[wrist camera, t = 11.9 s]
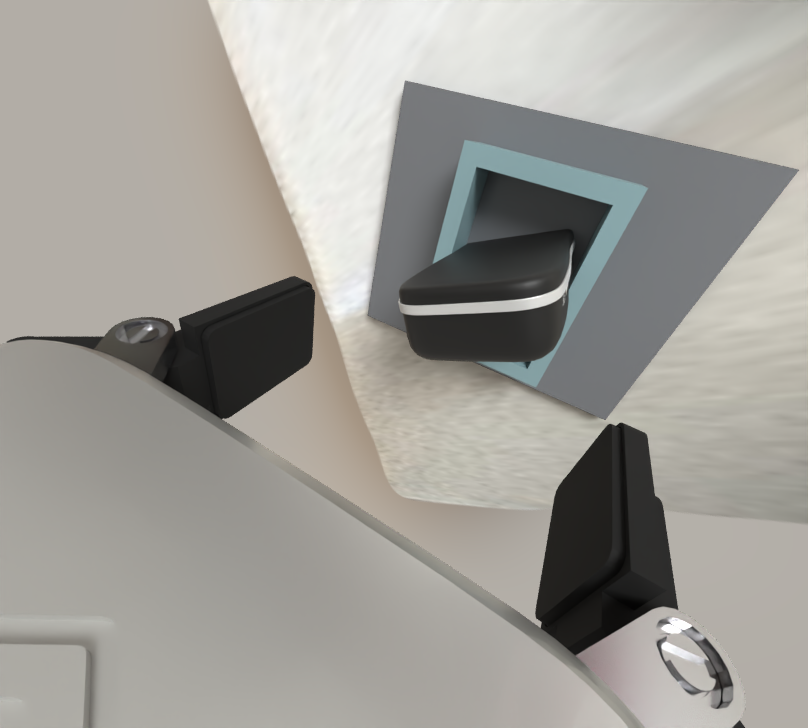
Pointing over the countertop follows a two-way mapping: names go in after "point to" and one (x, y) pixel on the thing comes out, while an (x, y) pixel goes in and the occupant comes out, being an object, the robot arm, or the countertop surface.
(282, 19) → the countertop surface
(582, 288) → the charging dock
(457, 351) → the black hard case
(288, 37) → the countertop surface
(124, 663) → the robot arm
